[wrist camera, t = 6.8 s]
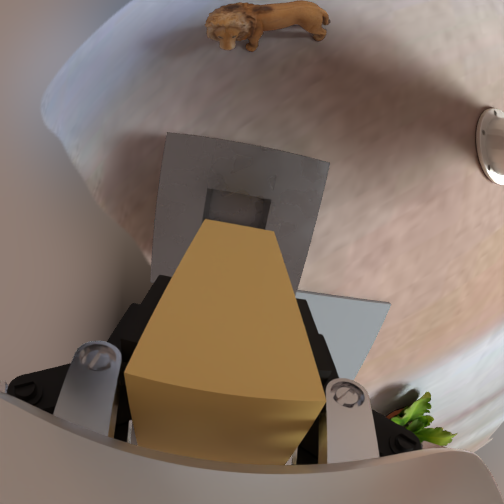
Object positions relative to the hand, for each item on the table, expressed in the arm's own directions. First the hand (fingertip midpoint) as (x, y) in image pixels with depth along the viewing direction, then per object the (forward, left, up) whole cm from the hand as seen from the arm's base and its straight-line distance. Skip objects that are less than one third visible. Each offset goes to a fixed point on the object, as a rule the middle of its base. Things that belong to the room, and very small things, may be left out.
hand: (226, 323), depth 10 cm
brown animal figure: (0, -21, -23) cm, 31 cm away
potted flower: (-43, +40, -23) cm, 63 cm away
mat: (-16, +17, -23) cm, 33 cm away
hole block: (0, 0, -23) cm, 23 cm away
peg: (0, 0, -7) cm, 7 cm away
